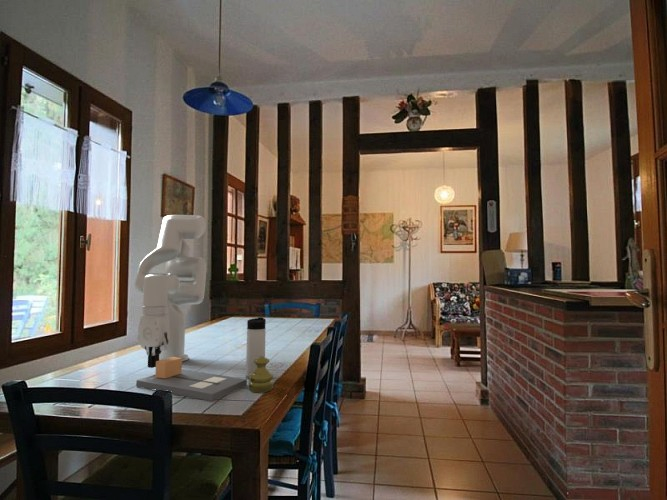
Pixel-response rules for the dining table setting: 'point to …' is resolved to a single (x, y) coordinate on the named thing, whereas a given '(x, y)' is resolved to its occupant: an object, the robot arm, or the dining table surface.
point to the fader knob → (168, 367)
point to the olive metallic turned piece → (261, 376)
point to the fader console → (195, 384)
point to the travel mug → (255, 342)
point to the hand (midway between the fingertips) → (153, 366)
